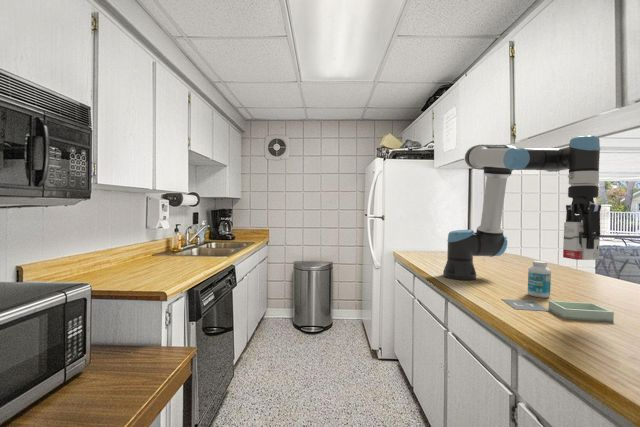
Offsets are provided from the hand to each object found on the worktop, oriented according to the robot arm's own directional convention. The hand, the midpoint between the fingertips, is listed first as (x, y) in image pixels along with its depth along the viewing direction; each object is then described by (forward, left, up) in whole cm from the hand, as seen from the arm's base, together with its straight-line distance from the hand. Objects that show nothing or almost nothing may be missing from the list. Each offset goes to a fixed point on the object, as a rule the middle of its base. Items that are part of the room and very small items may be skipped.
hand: (580, 257), depth 104 cm
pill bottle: (-23, -1, -19) cm, 30 cm away
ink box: (0, 0, -1) cm, 1 cm away
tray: (0, 0, -19) cm, 19 cm away
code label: (-8, -12, -19) cm, 24 cm away
